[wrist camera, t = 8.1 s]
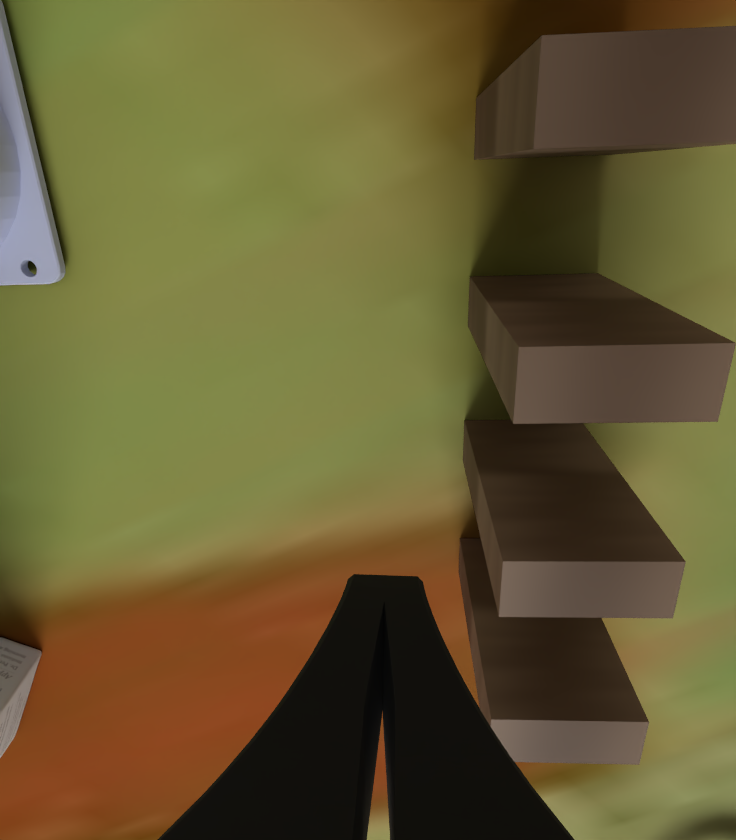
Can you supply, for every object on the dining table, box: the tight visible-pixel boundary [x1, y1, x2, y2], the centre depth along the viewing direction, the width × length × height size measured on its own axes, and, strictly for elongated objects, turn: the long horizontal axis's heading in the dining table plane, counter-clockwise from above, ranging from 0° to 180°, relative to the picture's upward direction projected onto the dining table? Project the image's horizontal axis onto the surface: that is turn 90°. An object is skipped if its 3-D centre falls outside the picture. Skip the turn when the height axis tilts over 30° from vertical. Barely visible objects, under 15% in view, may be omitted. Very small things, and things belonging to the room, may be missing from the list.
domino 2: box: [468, 273, 736, 424], centre depth 15 cm, size 4×2×8 cm, turn 92°
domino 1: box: [474, 26, 736, 160], centre depth 13 cm, size 4×2×8 cm, turn 92°
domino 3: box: [463, 420, 685, 618], centre depth 17 cm, size 4×2×8 cm, turn 92°
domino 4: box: [459, 538, 649, 764], centre depth 19 cm, size 4×2×8 cm, turn 92°
